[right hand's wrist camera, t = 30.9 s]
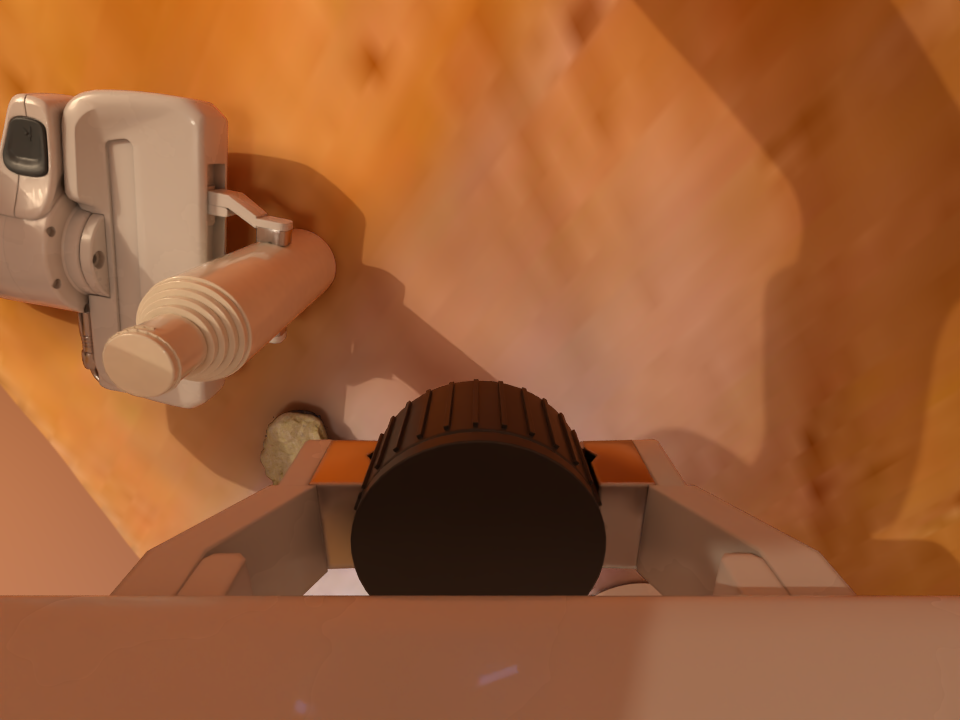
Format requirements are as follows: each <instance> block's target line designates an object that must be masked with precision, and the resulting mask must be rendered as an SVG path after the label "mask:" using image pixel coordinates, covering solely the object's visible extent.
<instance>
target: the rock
mask: <svg viewBox="0 0 960 720" xmlns="http://www.w3.org/2000/svg"><path fill="white" fill-rule="evenodd" d="M273 418H274V417H273ZM266 433H267V435H266V437H267V438H266V439H265V441H264V442H263V447H264V449H263V451H262V452H261V455H260V460H261V463H262V464H263V466H264V468H265V473H266V475H267V477H269V478H270V479H271V480H272V481H273V485H278V484H279V483H280V481H281V480H282V478H283V476H284V475H285V473H286V472H287V470H288V468H289V467H290V465H291V464H292V462H293V460H294V459H295V457H296V456H297V454H298V453H299V451H300V449H301V448H302V446H303V445H304V443H305V442H306V441H308V440H328V436H327V432H326V428H325V426H324V425H323V421H322V420H321V418H320V415H319V416H318V415H316V414H315V413H312V412H309V411H305V410H294V411H289V412H288V413H283V414H281V415H280V416H278V417H277V418H276V419H275V420H274V421H273V422H272V423H270V424H269V425H268V429H267V430H266Z"/></svg>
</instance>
